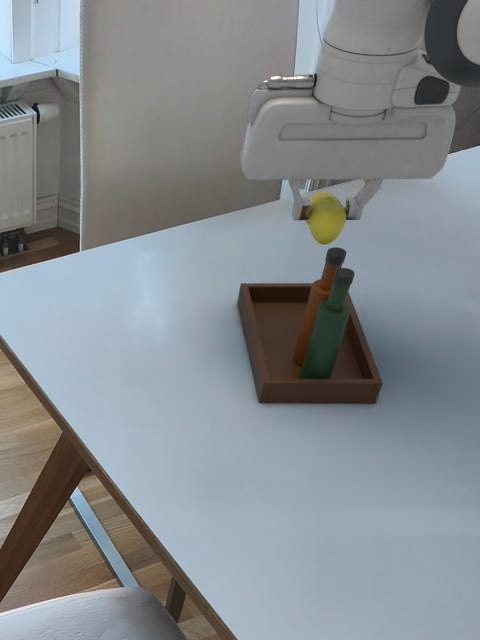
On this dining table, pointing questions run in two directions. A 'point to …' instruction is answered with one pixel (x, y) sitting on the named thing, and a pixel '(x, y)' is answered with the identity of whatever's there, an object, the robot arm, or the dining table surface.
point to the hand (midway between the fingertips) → (325, 218)
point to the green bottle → (328, 329)
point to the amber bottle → (317, 300)
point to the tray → (280, 342)
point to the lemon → (325, 217)
